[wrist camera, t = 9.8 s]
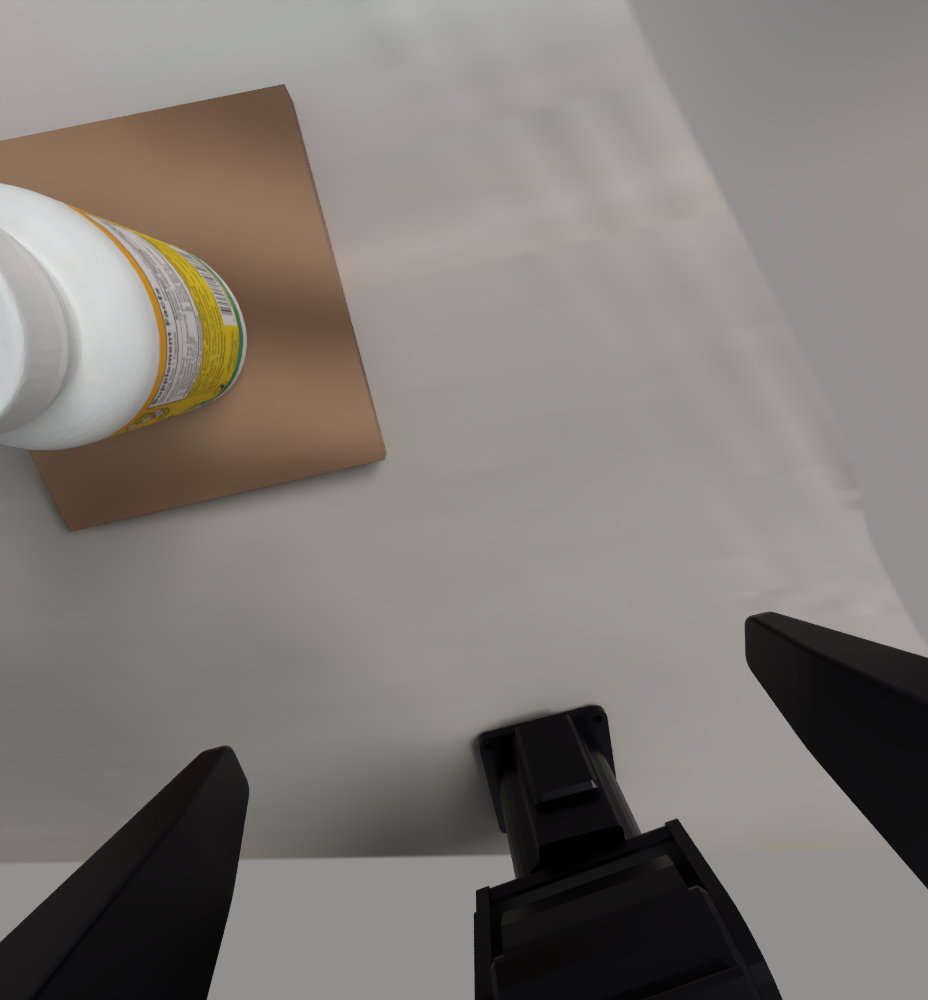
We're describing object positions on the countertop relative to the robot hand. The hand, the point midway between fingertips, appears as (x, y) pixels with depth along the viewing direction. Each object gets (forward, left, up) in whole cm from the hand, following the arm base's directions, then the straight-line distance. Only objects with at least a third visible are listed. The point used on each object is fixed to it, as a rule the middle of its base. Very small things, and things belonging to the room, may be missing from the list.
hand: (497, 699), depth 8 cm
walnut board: (+8, +8, -13) cm, 17 cm away
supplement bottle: (+8, +8, -12) cm, 16 cm away
